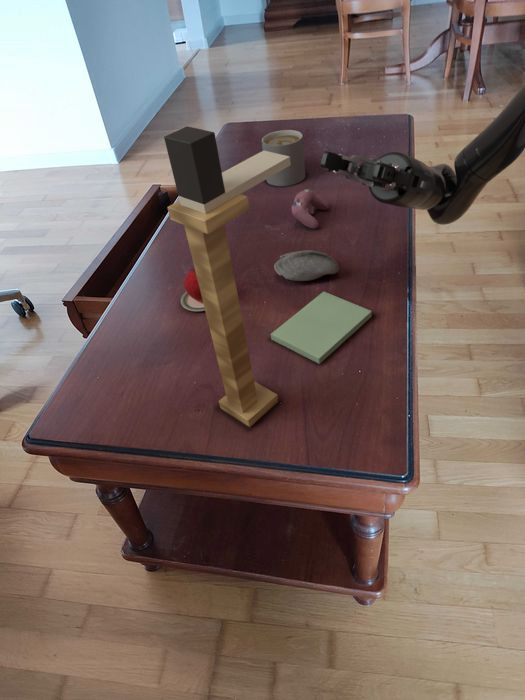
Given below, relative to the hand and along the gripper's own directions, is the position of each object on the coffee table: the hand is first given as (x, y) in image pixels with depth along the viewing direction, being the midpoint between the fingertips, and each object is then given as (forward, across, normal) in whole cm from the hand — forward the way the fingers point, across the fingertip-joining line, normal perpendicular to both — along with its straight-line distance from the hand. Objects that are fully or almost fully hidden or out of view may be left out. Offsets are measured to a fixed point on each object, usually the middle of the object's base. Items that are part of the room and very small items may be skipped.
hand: (349, 164), depth 69 cm
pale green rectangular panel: (-8, -2, +25) cm, 27 cm away
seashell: (-18, -14, +20) cm, 30 cm away
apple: (-3, -25, +28) cm, 38 cm away
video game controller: (-33, -27, +11) cm, 44 cm away
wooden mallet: (+20, 0, +5) cm, 21 cm away
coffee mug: (-46, -47, +4) cm, 66 cm away
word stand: (+8, 0, +35) cm, 36 cm away
